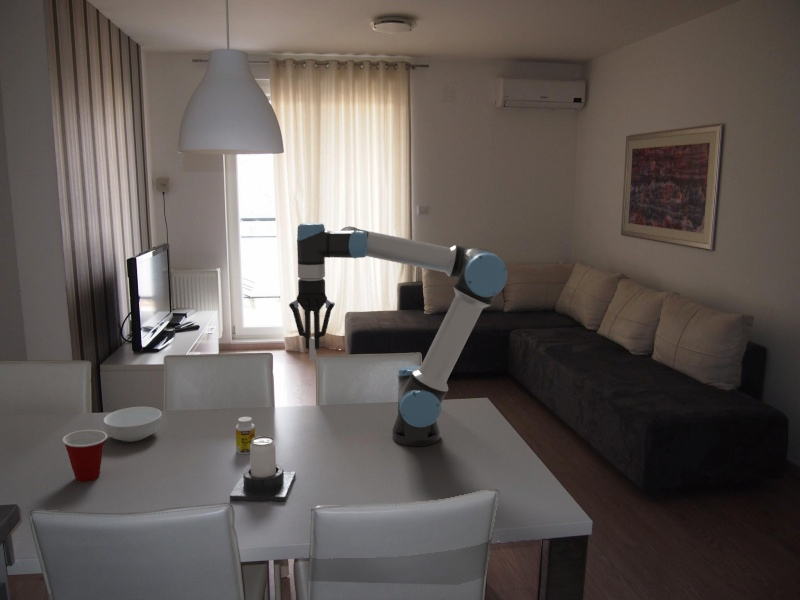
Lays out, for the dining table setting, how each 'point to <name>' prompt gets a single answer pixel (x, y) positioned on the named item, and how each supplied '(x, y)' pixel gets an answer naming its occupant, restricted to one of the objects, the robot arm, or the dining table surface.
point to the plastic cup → (85, 453)
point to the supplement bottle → (244, 435)
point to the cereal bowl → (132, 423)
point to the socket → (263, 487)
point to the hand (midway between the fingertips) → (312, 359)
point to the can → (262, 457)
